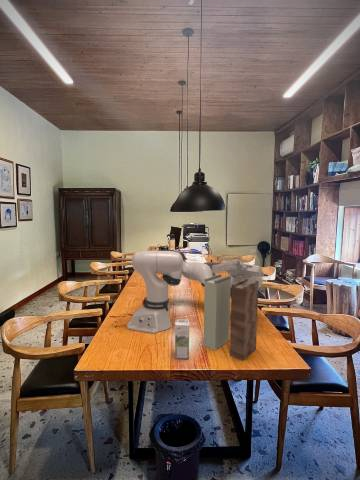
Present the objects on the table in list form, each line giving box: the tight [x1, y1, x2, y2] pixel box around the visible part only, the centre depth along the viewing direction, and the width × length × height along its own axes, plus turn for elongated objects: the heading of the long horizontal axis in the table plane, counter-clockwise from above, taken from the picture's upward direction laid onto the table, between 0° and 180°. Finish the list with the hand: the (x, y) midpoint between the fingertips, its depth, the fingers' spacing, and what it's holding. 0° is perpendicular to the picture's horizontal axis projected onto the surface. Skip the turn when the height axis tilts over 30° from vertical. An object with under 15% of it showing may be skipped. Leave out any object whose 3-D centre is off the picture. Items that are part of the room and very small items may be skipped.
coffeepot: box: [203, 259, 221, 276], centre depth 236 cm, size 15×9×18 cm, turn 70°
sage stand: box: [203, 273, 231, 351], centre depth 123 cm, size 12×6×30 cm, turn 140°
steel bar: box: [212, 258, 243, 274], centre depth 126 cm, size 22×3×3 cm, turn 140°
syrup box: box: [174, 319, 191, 360], centre depth 113 cm, size 6×6×14 cm
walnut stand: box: [229, 279, 259, 361], centre depth 115 cm, size 12×6×30 cm, turn 140°
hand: (235, 262), depth 131 cm, fingers closed on steel bar, 3 cm apart
